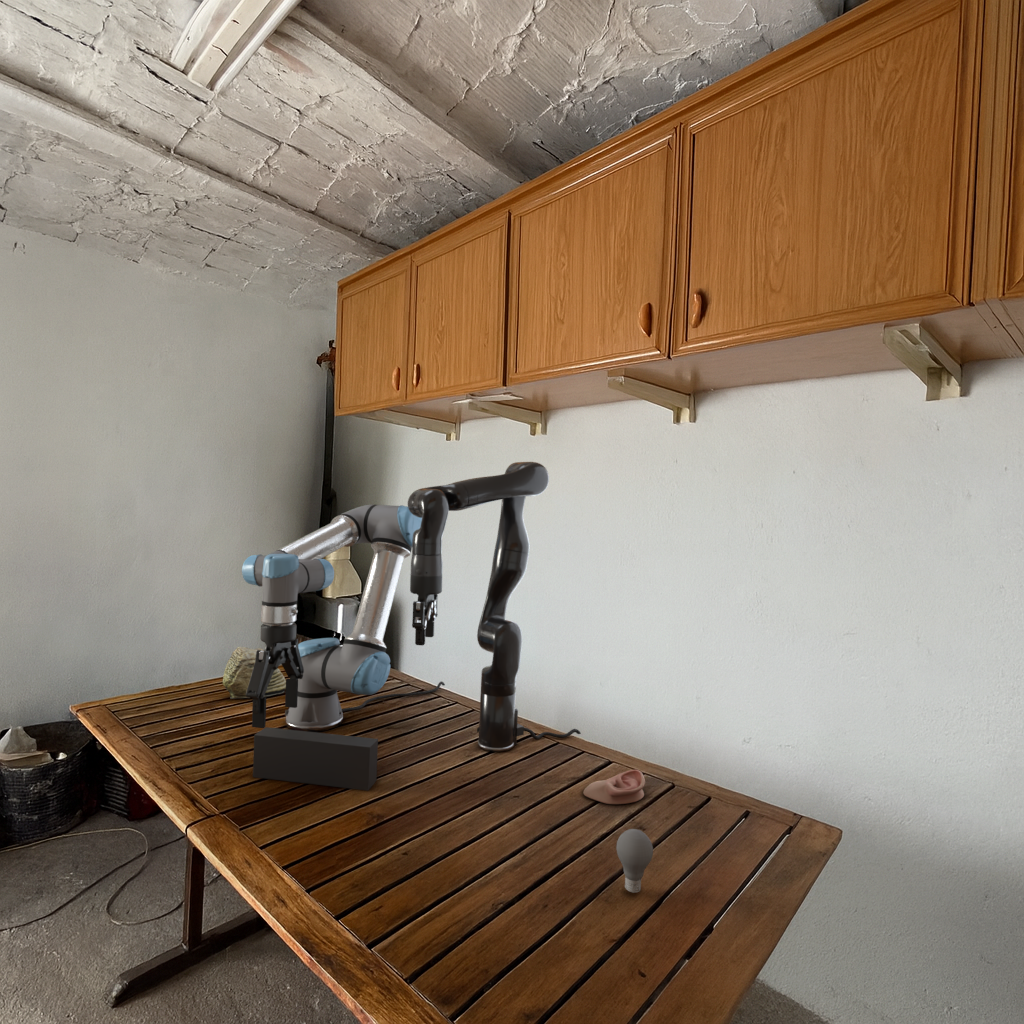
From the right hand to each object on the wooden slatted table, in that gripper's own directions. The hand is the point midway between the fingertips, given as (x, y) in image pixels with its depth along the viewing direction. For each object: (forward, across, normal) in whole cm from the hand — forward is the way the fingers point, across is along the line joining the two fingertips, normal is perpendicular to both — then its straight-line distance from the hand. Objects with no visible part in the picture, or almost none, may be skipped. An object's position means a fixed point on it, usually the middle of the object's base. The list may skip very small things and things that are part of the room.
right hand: (424, 640), depth 151 cm
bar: (+30, -12, +21) cm, 39 cm away
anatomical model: (+31, -5, -45) cm, 55 cm away
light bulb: (+30, -41, -47) cm, 69 cm away
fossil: (+30, +39, +64) cm, 81 cm away
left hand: (+16, -12, +31) cm, 37 cm away
